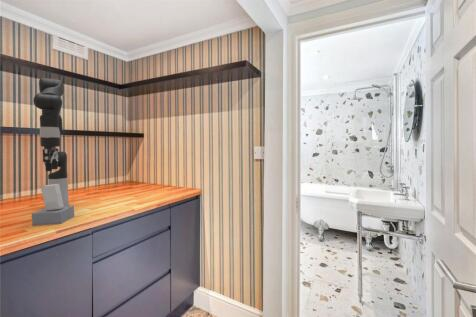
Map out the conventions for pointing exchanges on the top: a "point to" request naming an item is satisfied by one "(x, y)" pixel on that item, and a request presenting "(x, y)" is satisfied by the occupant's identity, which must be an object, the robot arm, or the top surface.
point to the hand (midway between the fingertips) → (52, 170)
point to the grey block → (52, 216)
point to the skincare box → (52, 197)
